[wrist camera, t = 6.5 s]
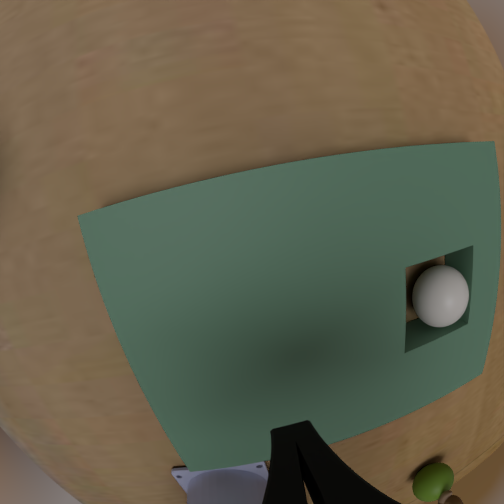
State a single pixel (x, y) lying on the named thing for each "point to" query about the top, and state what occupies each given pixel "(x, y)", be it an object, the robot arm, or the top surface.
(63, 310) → the top surface
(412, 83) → the top surface
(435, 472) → the snail figurine
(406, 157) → the putting board
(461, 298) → the ball
